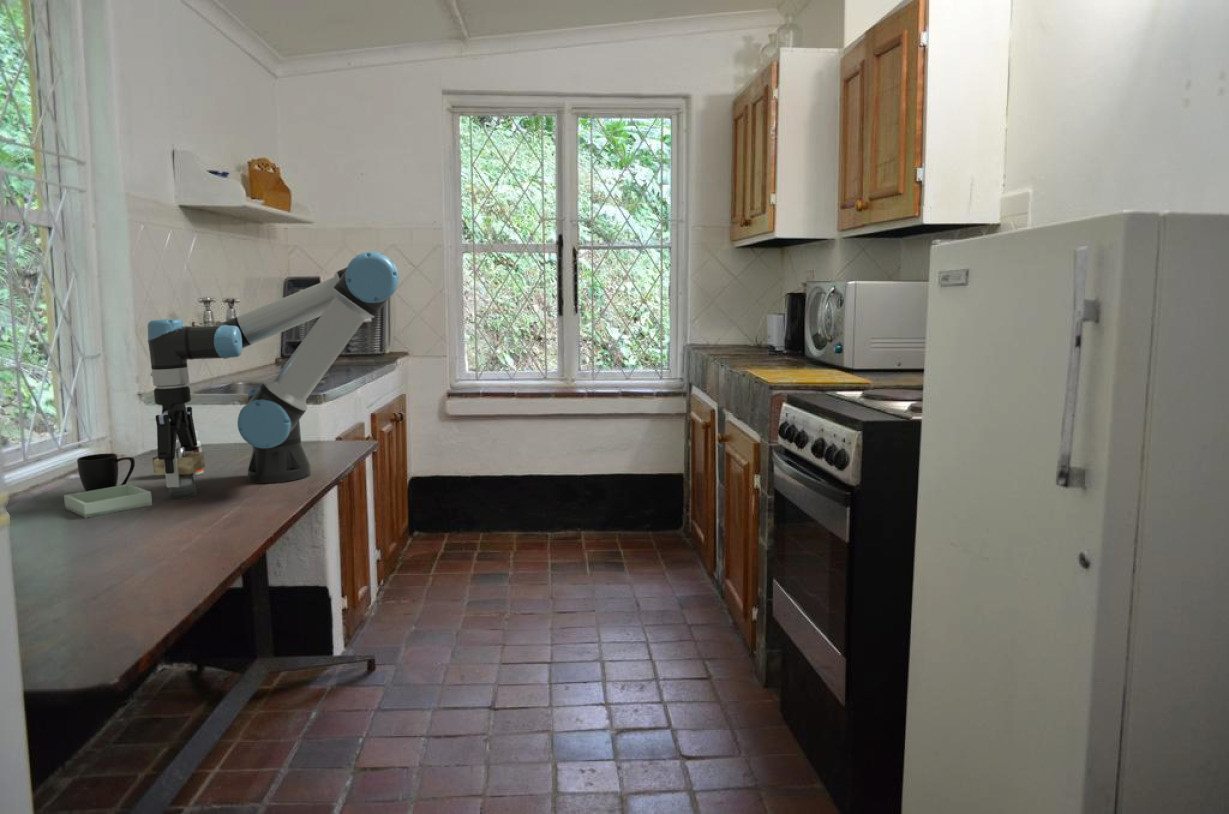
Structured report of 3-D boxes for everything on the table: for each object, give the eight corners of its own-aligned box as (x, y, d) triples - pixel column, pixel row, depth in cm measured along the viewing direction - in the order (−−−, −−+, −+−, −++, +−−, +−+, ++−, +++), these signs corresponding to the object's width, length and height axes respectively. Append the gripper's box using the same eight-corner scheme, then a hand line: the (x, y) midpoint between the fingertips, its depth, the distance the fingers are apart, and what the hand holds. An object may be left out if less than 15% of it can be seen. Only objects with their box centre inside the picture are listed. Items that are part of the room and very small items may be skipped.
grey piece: (200, 492, 211) (195, 445, 209) (189, 498, 205) (184, 449, 204) (176, 493, 211) (171, 445, 209) (165, 499, 205) (160, 450, 204)
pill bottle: (177, 478, 228) (172, 434, 226) (178, 473, 234) (174, 431, 232) (203, 475, 230) (199, 432, 229) (204, 470, 236) (200, 429, 234)
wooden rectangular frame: (204, 466, 211) (203, 452, 211) (190, 473, 203) (188, 458, 203) (163, 468, 211) (162, 453, 210) (147, 475, 203) (146, 460, 203)
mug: (130, 497, 208) (126, 458, 206) (75, 501, 206) (70, 461, 204) (143, 489, 216) (139, 451, 214) (90, 493, 214) (85, 454, 213)
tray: (130, 496, 209) (128, 483, 209) (152, 504, 200) (150, 492, 200) (65, 508, 199) (63, 495, 199) (85, 518, 190) (84, 504, 190)
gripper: (175, 381, 214) (184, 473, 218) (132, 392, 194) (144, 493, 197) (206, 380, 215) (215, 472, 218) (167, 391, 194) (178, 492, 197)
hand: (181, 482), depth 208 cm, fingers closed on wooden rectangular frame, 8 cm apart
